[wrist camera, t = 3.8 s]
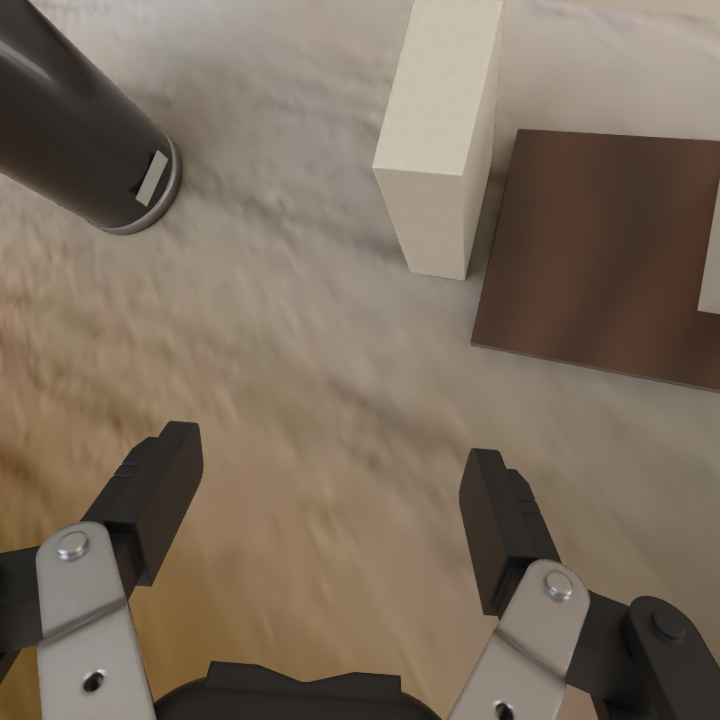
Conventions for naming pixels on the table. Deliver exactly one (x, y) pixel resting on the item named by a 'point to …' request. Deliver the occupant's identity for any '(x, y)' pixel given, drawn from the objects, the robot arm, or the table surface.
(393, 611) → the table surface
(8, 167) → the robot arm
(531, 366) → the table surface
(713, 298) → the cream rectangular block
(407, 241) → the upright ivory block
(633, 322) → the dark wood bookend
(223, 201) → the table surface
